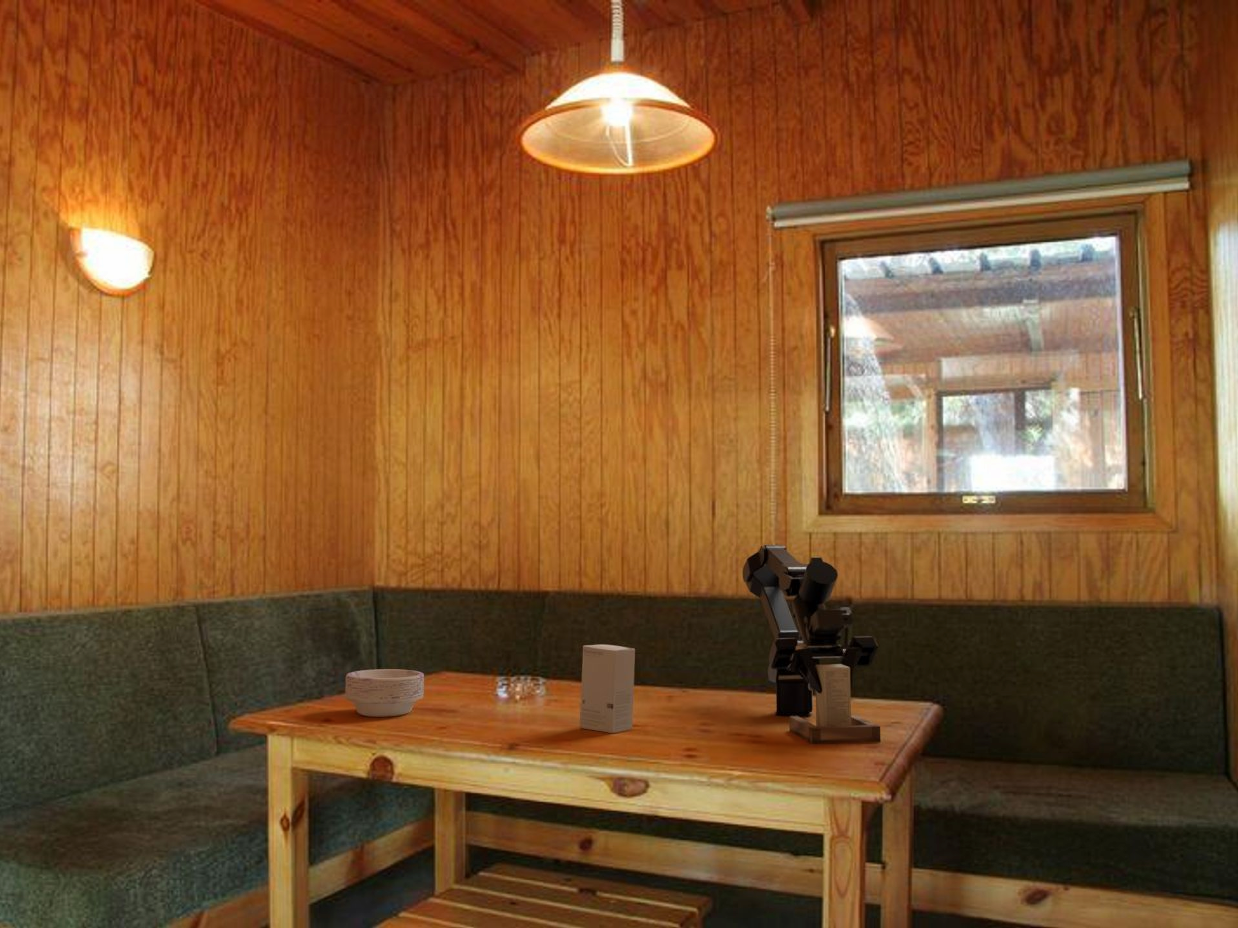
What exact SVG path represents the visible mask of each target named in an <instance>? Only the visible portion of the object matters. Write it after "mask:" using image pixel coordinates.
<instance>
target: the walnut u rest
mask: <svg viewBox="0 0 1238 928" xmlns="http://www.w3.org/2000/svg"><path fill="white" fill-rule="evenodd" d="M788 716H789V717H788V718H789V719H788V720H789V731H790V732H791V733H793V734H795V735H796V736H798V737H800V738H801V739H803V740H805V741H806V742H808V743H810V744H812V745H816V744H817V745H818V744H819V745H820V744H824V745H825V744H844V743H845V744H846V743H874V742H873V741H878V742H882V741H881V726H880V725H878V724H877V723H874V722H872V721H869V720H867V719H865V718H863V717H861V716H859V715H857V714H854V713H851V726H826V727H817V726H816V724H813V723H811V722H809V721H808V720H805V719H803V718H802V717H801V716H793V715H788ZM871 741H872V742H871Z"/></svg>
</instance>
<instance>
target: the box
mask: <svg viewBox="0 0 1238 928" xmlns="http://www.w3.org/2000/svg"><path fill="white" fill-rule="evenodd" d="M815 668H816V671H817V674H818V676H819V679H820V682H821V686H822V692H821V693H818V692H817V691H816V690H815V726H817V727H826V726H851V714H852V708H851V707H852V705H851V701H852V700H851V692H850V667H847V666H845V665H842V664H841V663H835V664H829V663H828V664H819V665H815Z"/></svg>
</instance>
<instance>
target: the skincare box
mask: <svg viewBox="0 0 1238 928" xmlns="http://www.w3.org/2000/svg"><path fill="white" fill-rule="evenodd" d="M635 659H636V649H635V648H633V647H627V646H620V645H612V644H590V645H587V644H586V645H583V646H582V666H581V667H582V668H581V686H580V688H581V689H580V707H579V708H580V709H579V710H580V711H579V713H580V714H579V727H580V729H583V730H584V729H585V730H590V731H597V732H598V731H599V732H603V733H604V732H605V733H608V734H616V733H621V732H626V731H627V732H628V731H631V730H633V722H634V720H633V719H634V718H633V717H634V714H633V713H634V691H635V690H634V689H635V661H636V660H635Z"/></svg>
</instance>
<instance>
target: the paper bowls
mask: <svg viewBox="0 0 1238 928" xmlns="http://www.w3.org/2000/svg"><path fill="white" fill-rule="evenodd" d="M344 691H345V693H344V695H345V696H344V697H345V699H346V700H347V701H348V702H352V703H353V704H354V707H355V710H356V712H357V713H358V714H359V715H362V716H365V717H372V718H390V717H397V716H403V715H406V714H408V713H410V712H411V711H412V709H413V707H414V705H415V703H416V702H417V701H418V700H421V699H423V698H424V693H425V674H424V673H423V672H421V671H418V670H412V669H411V670H408V669H393V668H391V669H389V668H386V669H385V668H383V669H382V668H381V669H364V670H357V671H356V670H355V671H352V672H348V673H347V674H346V675H345V687H344Z"/></svg>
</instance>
